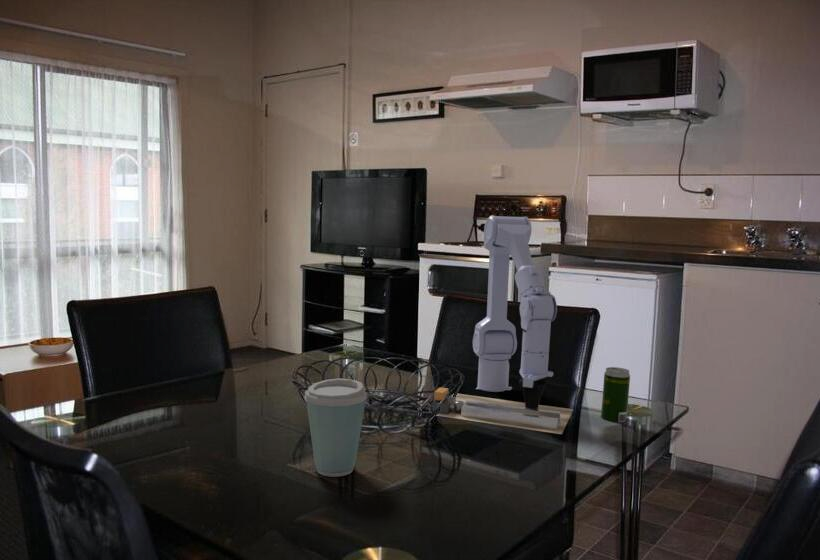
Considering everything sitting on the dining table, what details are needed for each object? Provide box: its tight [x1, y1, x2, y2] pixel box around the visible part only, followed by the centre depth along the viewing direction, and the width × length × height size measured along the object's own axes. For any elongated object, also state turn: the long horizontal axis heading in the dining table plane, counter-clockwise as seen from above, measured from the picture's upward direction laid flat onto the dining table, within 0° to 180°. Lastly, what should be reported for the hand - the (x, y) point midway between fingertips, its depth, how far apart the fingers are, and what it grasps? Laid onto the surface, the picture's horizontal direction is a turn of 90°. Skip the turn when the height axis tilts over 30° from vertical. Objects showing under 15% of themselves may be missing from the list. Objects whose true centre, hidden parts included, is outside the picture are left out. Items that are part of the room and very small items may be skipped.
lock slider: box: [433, 387, 449, 401], centre depth 156 cm, size 4×2×2 cm, turn 160°
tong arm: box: [454, 400, 561, 423], centre depth 152 cm, size 3×22×2 cm, turn 74°
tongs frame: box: [432, 395, 559, 430], centre depth 152 cm, size 6×27×2 cm, turn 70°
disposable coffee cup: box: [304, 378, 368, 478], centre depth 121 cm, size 11×11×15 cm
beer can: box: [600, 366, 631, 423], centre depth 155 cm, size 5×5×12 cm
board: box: [436, 393, 574, 435], centre depth 157 cm, size 19×28×1 cm
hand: (531, 412), depth 153 cm, fingers closed
